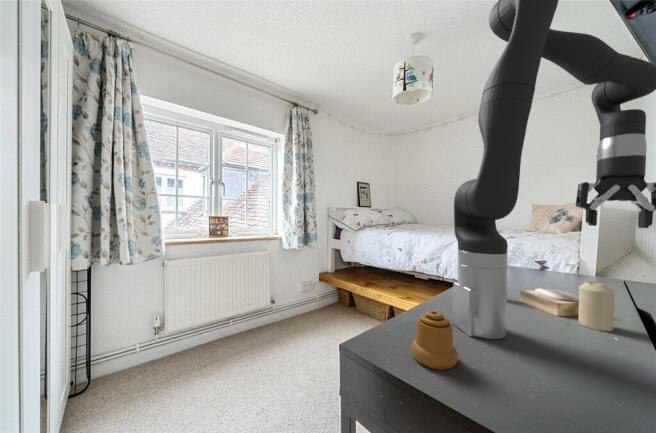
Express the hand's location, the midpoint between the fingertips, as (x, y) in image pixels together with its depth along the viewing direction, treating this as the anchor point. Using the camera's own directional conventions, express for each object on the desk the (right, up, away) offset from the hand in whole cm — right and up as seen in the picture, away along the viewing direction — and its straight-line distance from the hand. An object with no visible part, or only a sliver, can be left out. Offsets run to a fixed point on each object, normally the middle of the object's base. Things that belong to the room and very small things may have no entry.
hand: (617, 226), depth 59 cm
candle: (-7, -23, -1) cm, 24 cm away
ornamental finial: (-49, -23, -15) cm, 56 cm away
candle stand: (-5, -23, +10) cm, 25 cm away
